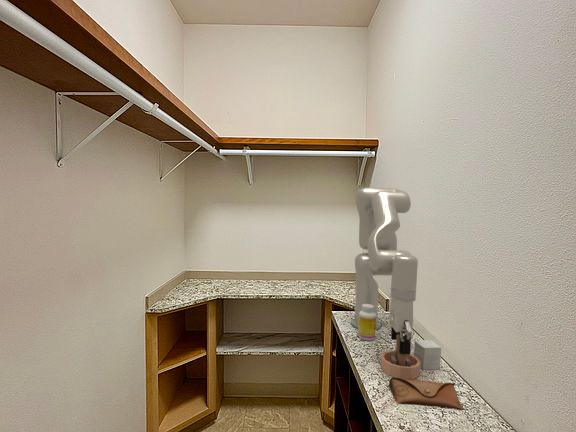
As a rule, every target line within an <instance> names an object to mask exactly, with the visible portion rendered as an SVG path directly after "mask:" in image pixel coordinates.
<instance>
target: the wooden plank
mask: <svg viewBox="0 0 576 432" xmlns="http://www.w3.org/2000/svg"><path fill="white" fill-rule="evenodd" d="M403 337H404V335H403ZM400 340H401V336H400V335H397V336H396V340H395V351H396V360H397V365H398V366H405V362H406V354H400V353H399V344H400Z"/></svg>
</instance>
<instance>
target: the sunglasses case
mask: <svg viewBox="0 0 576 432" xmlns="http://www.w3.org/2000/svg"><path fill="white" fill-rule="evenodd" d="M388 388H389V389H390V392H391V395H392V397H393V399H394V401H395V402H396V404H398V405H414V406H415V405H417V406H426V405H427V407H435V406H438V408H444V407H447V408H446V409H452V408H454V409H453V410H458V411H459V410H460V411H464V410H465V409H464V408H463V406H462V404H461V402H460V399H459V396H458V393H457V391H456V388H455V383H453V382H438V381H430V380H429V381H428V380H419V379H410V380H408V379H401V378H395V377H391V378H390V379H389V383H388Z"/></svg>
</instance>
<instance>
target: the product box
mask: <svg viewBox="0 0 576 432" xmlns="http://www.w3.org/2000/svg"><path fill="white" fill-rule="evenodd" d="M413 345H414V346H413V347H414V348H413V356H415V357H417V358H418V359H419V361H420V362H421V368H420V369H421V370H422V371H429V370H431V371H432V370H441V358H442V357H441V355H442V347H441V346H440V345H438V344H437V343H436V342H434V341H433V340H431V339H419V340H414V344H413Z"/></svg>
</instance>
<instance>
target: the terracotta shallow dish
mask: <svg viewBox="0 0 576 432" xmlns="http://www.w3.org/2000/svg"><path fill="white" fill-rule="evenodd" d="M380 368H381V371H382V372H384V374H386V375H388V376H389V377H391V378H401V379H408V380H416V379H417V378H418V377H419V376H420V374H421V369H422V368H421V362H420V361H419V359H418V358H417V357H415V356H414V354H411V353H410V354H406V362H405V366H398V365H397V360H396V350H388V351H384V352H382V353H381V355H380Z"/></svg>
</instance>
